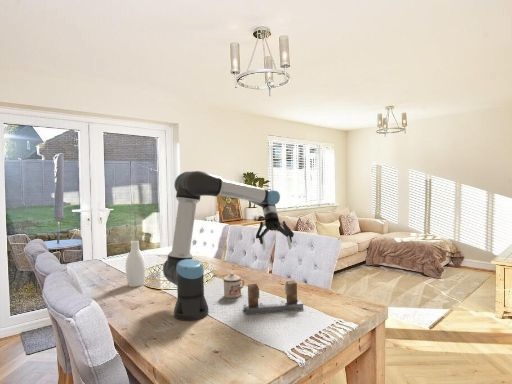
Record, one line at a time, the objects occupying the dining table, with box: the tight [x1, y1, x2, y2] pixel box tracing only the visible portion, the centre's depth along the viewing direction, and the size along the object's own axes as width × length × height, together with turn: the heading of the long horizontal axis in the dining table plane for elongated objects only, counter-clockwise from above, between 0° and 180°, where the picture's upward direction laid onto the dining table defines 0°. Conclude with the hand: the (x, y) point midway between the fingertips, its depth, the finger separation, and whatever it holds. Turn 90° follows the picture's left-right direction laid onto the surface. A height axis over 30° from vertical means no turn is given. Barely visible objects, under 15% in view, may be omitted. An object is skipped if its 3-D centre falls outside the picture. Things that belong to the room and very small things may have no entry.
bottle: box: [125, 240, 147, 288], centre depth 195 cm, size 11×11×25 cm
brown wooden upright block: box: [284, 280, 298, 303], centre depth 157 cm, size 5×4×11 cm
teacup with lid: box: [222, 272, 245, 299], centre depth 173 cm, size 12×9×12 cm
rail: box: [243, 298, 304, 315], centre depth 153 cm, size 27×7×2 cm, turn 100°
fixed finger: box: [247, 283, 260, 306], centre depth 153 cm, size 5×4×11 cm
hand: (277, 248), depth 170 cm, fingers open, 13 cm apart
